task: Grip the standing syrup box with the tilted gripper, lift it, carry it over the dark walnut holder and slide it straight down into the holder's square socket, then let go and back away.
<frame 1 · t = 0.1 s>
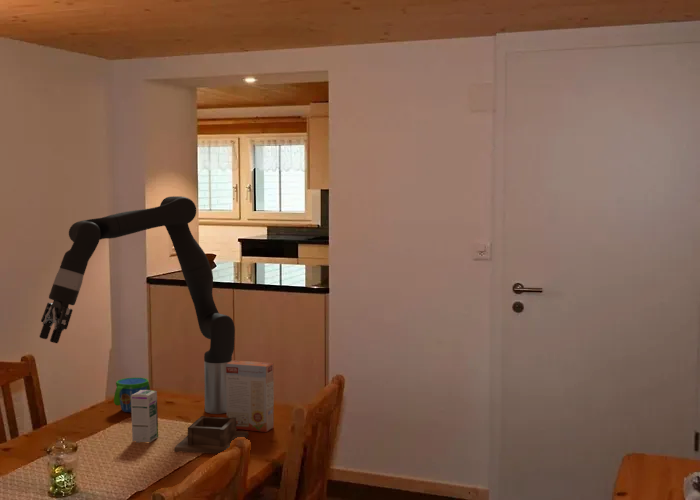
hand: (48, 340, 216), 31 cm above the table, tool tilted 20°, fingers open, 8 cm apart
socket holder: (212, 443, 222), on the table
syrup box: (145, 440, 225), on the table
cracker box: (250, 428, 237), on the table
snack cup: (132, 410, 256), on the table
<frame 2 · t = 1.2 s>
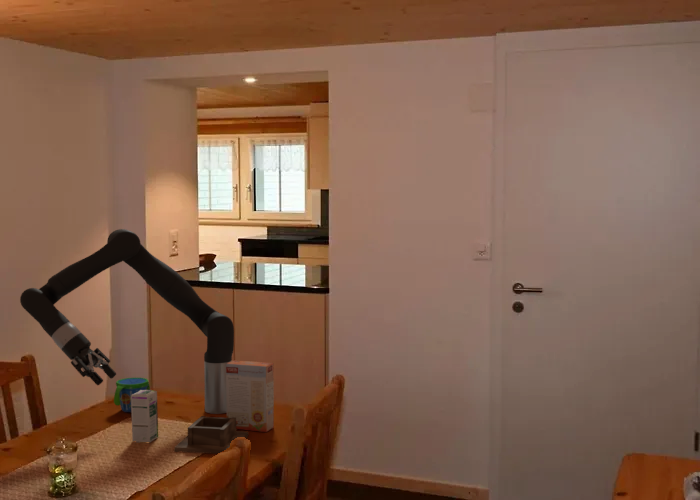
hand: (107, 379, 225), 18 cm above the table, tool tilted 45°, fingers open, 8 cm apart
nothing on the table moved.
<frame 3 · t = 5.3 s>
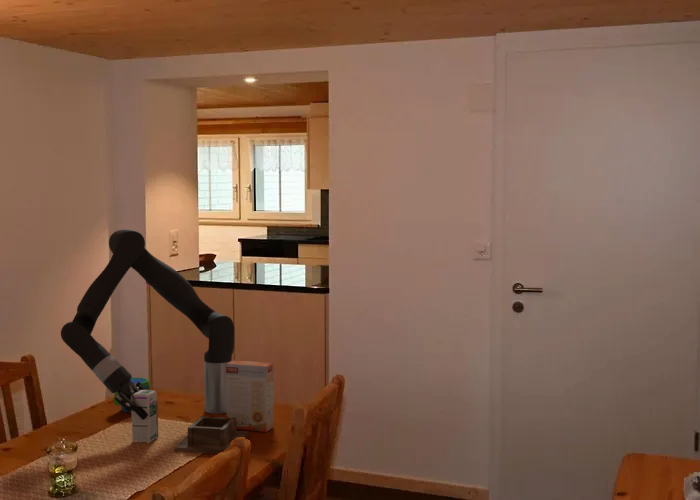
hand: (150, 414, 224), 8 cm above the table, tool tilted 45°, fingers closed on syrup box, 6 cm apart
syrup box: (145, 440, 225), on the table, touching gripper
everything else where it was.
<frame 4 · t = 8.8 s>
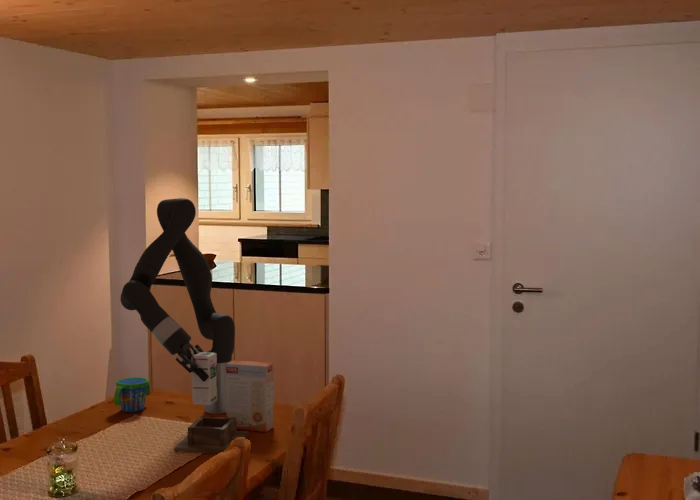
hand: (210, 376, 220), 20 cm above the table, tool tilted 45°, fingers closed on syrup box, 6 cm apart
syrup box: (204, 402, 221), point 12 cm above the table, touching gripper
everything else where it was.
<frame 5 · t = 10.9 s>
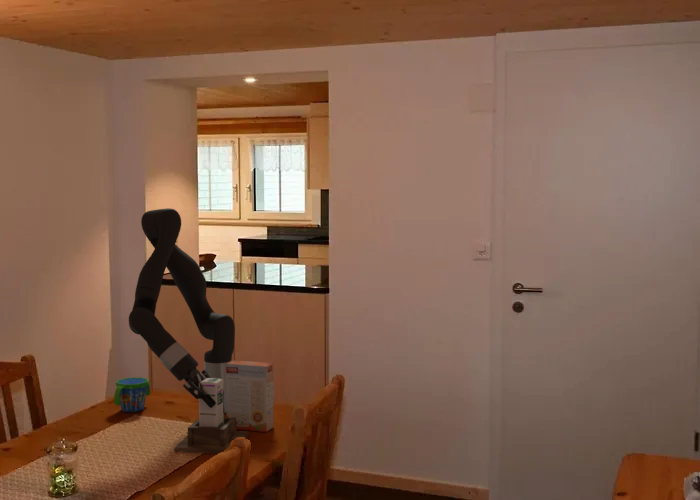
hand: (217, 402, 221), 12 cm above the table, tool tilted 45°, fingers closed on syrup box, 6 cm apart
syrup box: (211, 429, 221), point 4 cm above the table, touching gripper
everything else where it was.
when the fingers open (10 cm above the table, at t = 12.4 s): syrup box drops 1 cm, resting on socket holder.
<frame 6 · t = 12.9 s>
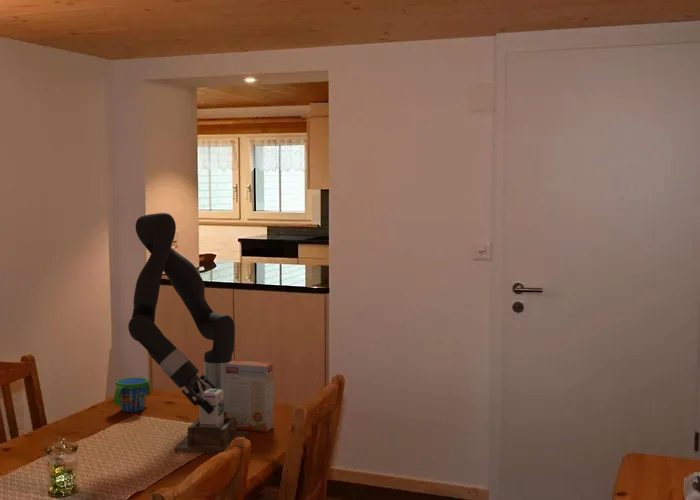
hand: (216, 408, 221), 11 cm above the table, tool tilted 45°, fingers open, 8 cm apart
syrup box: (212, 439, 222), point 1 cm above the table, touching socket holder
everything else where it was.
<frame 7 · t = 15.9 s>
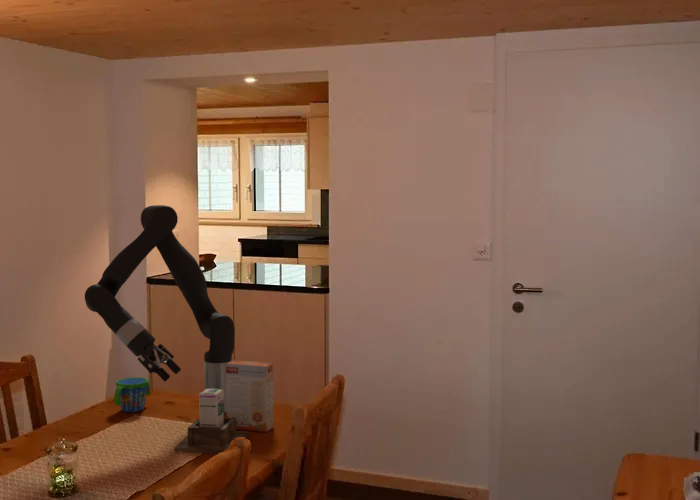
hand: (173, 375, 224), 19 cm above the table, tool tilted 45°, fingers open, 8 cm apart
nothing on the table moved.
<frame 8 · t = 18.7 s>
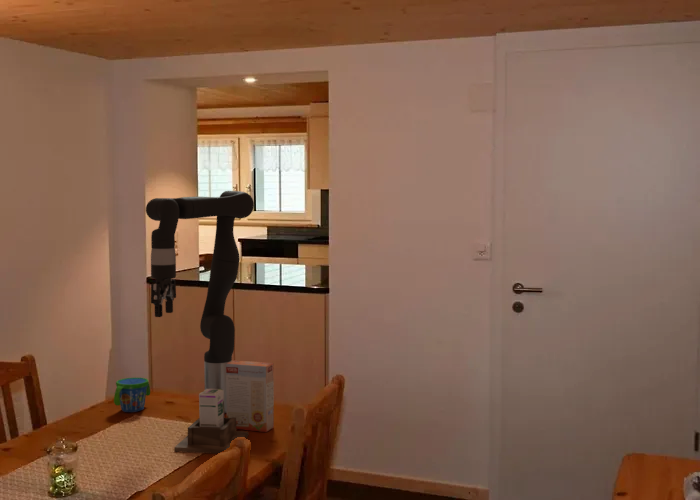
hand: (164, 314, 233), 36 cm above the table, tool pointing down, fingers open, 8 cm apart
nothing on the table moved.
at the end: syrup box 0.3 cm off-centre on the socket holder, point 1.0 cm above the socket holder's base; syrup box tilted 0°; the gripper is holding nothing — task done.
